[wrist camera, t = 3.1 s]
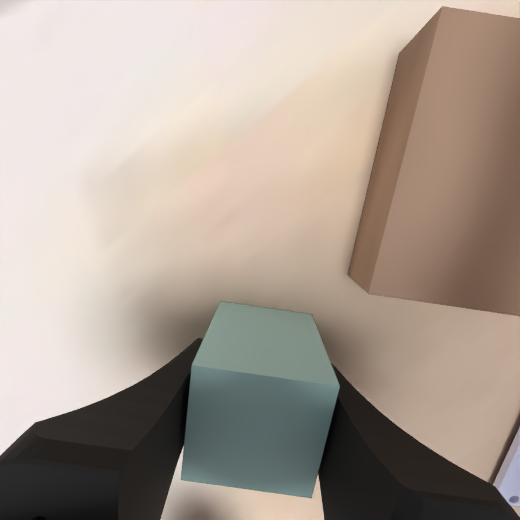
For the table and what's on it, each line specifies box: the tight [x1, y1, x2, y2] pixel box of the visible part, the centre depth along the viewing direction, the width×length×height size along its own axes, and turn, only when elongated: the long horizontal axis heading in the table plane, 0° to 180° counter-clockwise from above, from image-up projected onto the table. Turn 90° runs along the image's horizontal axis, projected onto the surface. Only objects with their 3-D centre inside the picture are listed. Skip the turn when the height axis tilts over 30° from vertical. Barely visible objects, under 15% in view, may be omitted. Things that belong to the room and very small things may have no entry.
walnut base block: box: [348, 6, 520, 316], centre depth 10 cm, size 9×9×2 cm
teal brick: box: [181, 301, 340, 498], centre depth 11 cm, size 4×4×5 cm
